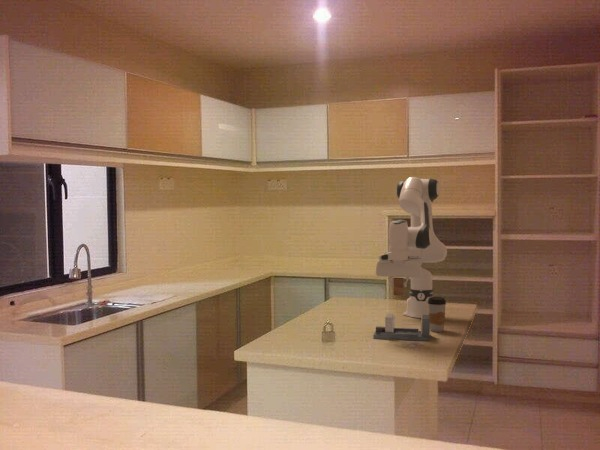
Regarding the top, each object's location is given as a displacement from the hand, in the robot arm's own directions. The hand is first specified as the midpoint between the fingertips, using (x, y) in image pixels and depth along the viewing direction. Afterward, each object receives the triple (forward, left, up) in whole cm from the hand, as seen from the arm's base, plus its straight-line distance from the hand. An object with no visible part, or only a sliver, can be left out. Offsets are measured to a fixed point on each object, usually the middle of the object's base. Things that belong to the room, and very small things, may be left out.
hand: (398, 286), depth 260 cm
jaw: (+3, -6, -20) cm, 21 cm away
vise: (+3, +2, -22) cm, 22 cm away
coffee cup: (-13, +17, -22) cm, 30 cm away
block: (0, 0, -4) cm, 4 cm away
